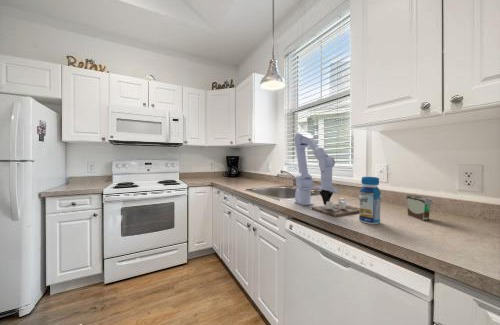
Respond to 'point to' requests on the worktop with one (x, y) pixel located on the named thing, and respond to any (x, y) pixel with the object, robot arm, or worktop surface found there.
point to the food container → (418, 207)
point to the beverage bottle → (370, 201)
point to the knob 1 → (329, 204)
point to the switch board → (337, 210)
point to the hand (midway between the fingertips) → (326, 204)
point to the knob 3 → (342, 204)
